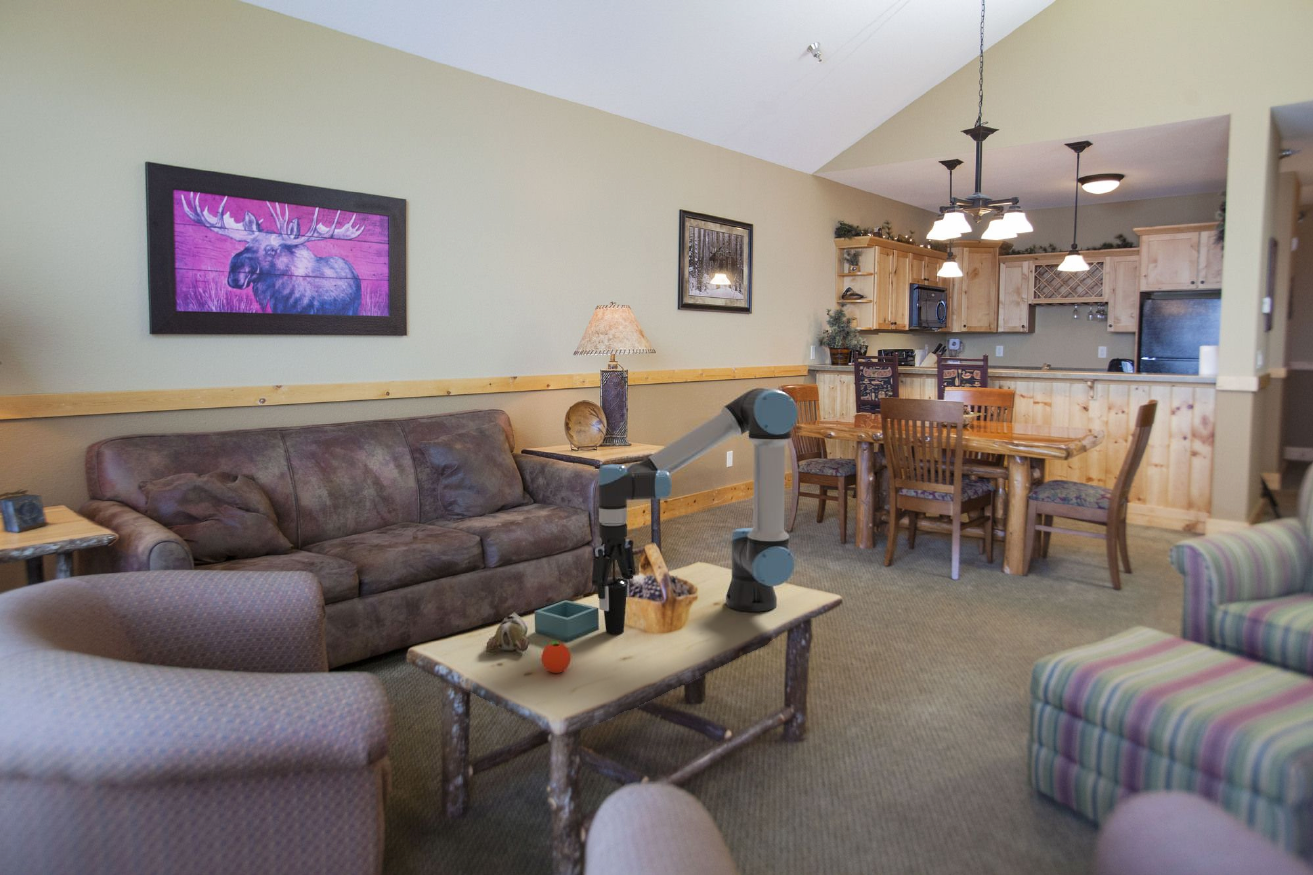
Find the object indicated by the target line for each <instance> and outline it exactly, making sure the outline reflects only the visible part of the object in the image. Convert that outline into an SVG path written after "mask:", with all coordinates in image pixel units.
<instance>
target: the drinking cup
mask: <svg viewBox="0 0 1313 875" xmlns="http://www.w3.org/2000/svg"><path fill="white" fill-rule="evenodd" d="M622 578H623V577H618V576H617V577H616V558H614V561H613V562H612V577H608V580H607V584H606V586H608V591H609V611H604V610H603V615H604V616H603V617H604V625H605V632H606V634H608V635H612V636H613V635H614V636H615V635H621V634H623V633H624V632H625V622H626V621H625V620H626V606H627V603H626V596H627V585H628V581H627V580H624V579H622ZM602 582H603V581H602Z"/></svg>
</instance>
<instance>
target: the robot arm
mask: <svg viewBox="0 0 1313 875" xmlns="http://www.w3.org/2000/svg"><path fill="white" fill-rule="evenodd" d="M798 414H799V413H798V408H797V404H796V402H795V400H794V399H793V398H792V397H791V396H790V395H789V394H787V393H786V392H784V391H782V390H779V389H775V388H773V389H769V388H761V387H758V388H752V389H750V390H748V391H746V392H744V393H743V394H741V395H740V396H738V397H736V398H734V400H732V401H731V402H729V403H727V404H726V405H724V406H723V407H721V411H720V413H717V415H715V416H713V417H711V418H710V419H708V420H707V421H705V422H703V423H702V424H700V425H699V426H697V427H695V428H694V429H692V430H691V431H689V432H687V433H685V434H684V435H683V436H680V437H679V438H677V439H676V440H674V441H672V442H671V443H669V444H668V445H666V446H664V447H663V448H661V449H659V450H658V451H656V452H654V454H652V455H650V456H648V457H647V458H645V459H644V460H642V461H639V462H635V463H631V464H630V465H629V466H627V467H626V466H625V464H613V463H612V464H603V465H601V466H599V469H598V479H597V480H598V481H597V487H598V488H597V489H598V490H597V492H598V521H599V525H598V534H599V538H600V539H601V544H600V546H598V547H594V548H593V549H592V553H593V565H592V574H591V575H592V576H591V585H592V586H595V587H597V598H598V599H599V600H598V601H599V602H598V603H599V606H598V610H601V611H603V612H604V611H609V591H608V586H606V584H607V580H608V578H609V575H610V571H611V567H612V564H613V561H614V559H615V561H616V563H617V566H618V568H619V572H620V575H621V578H622V579H624V580H627V581H628V585H627V596H626V597H629V598H630V589H631V580H633V579H634V575H636V566H635V559H634V558H635V557H634V541H633V540H632V539H628V538H627V536H628V524H627V521H628V504H627V503H628V501H635V500H659V499H667V498H669V497H670V496H671V494H672V477H671V475H672V474H674V473H675V472H677V471H679V470H680V469H681V468H683V467H685V466H686V465H688V464H690V463H691V462H693V461H694V460H696V459H697V458H699V457H702V456H703V455H704V454H706V453H708V452H709V451H712V450H713V449H715V447H717V446H719V445H721V444H722V443H724V442H726V441H727V440H729V439H730V438H732V437H734V436H739V437H740V436H742V435H743V434H745V433H747V432H748V439H749V441H751V442H752V444H753V493H752V494H753V495H752V496H753V498H752V499H753V500H752V503H753V505H752V507H753V509H752V512H753V514H752V516H753V517H752V527H744V528H742V527H741V528H736V529H734V530H733V531H732V532H731V540H730V543H731V580H730V583H729V586H728V589H727V592H726V594H725V605H726V606H727V607H728V608H730V609H732V610H735V611H739V612H747V613H760V612H766V611H767V612H768V611H771V610H773V609H775V608H777V606H778V605H777V604H778V603H777V602H778V598H777V594H776V591H775V588H774V587H777V586H780V585H782V584H784V583H786V582H787V581H788V580H789V579H790V578H791V577H792V575H793V573H794V571H795V565H796V562H795V557H794V555H793V553H792V552H791V551H790V534H789V533H788V532H787V531H785V490H786V489H785V487H786V486H785V485H786V481H785V479H786V477H785V476H786V475H785V474H786V446H787V444H788V443H789V441H791V440H792V428H793V427H794V426H795V424H796V423H797V420H798ZM602 581H603V582H602Z"/></svg>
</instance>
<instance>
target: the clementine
mask: <svg viewBox="0 0 1313 875" xmlns="http://www.w3.org/2000/svg"><path fill="white" fill-rule="evenodd" d="M571 659H572V654H571V652H570V649H569V647H567V646H566V645H565V644H564V643H561V642H558V641H551V642H550V643H549V644H548V645H546V646H545V648H544V649H543V650H542V654H541V659H540V660H541V663H542V666H543V668H544V669H545V670H546V671H548V672H550V673H551V674H552V673H553V674H554V673H555V674H557V673H562V672H564V671H565V670H566V669H567V668H568V667H569V665H570V663H571Z"/></svg>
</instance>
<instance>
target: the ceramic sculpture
mask: <svg viewBox="0 0 1313 875" xmlns="http://www.w3.org/2000/svg"><path fill="white" fill-rule="evenodd" d="M528 629H529V628H528V626H527V625H526V623H525V621H524V619H523V618H522V617H521V616H519V615H518V613H517V612H515V611H514V612H512V613H511V614H510V615H509V616H506V617H505V618H504V619H503V620H502V622H501V623H500V624H499V626H498V627H497V629H496V632H495V634H494V636H492V637H490V638H488V641H487V642H486V648H485V652H486V653H495V652H497V651H498V650H499V649H501V650H502V651H507V652H508V651H509V652H510V651H515V650H516V651H518V652H522V653H523V652H526V650H528V647H529V645H530V641H529V637H528V636H527V634H528Z"/></svg>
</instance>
